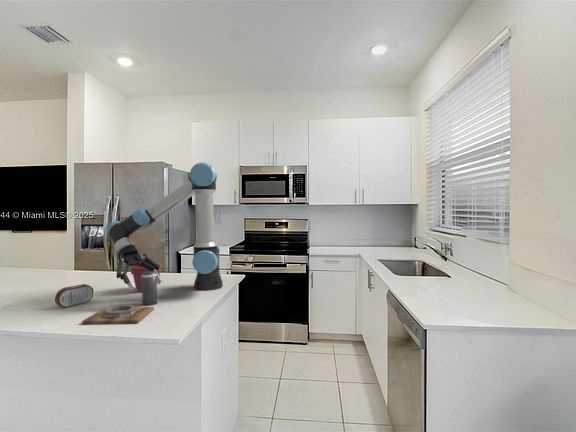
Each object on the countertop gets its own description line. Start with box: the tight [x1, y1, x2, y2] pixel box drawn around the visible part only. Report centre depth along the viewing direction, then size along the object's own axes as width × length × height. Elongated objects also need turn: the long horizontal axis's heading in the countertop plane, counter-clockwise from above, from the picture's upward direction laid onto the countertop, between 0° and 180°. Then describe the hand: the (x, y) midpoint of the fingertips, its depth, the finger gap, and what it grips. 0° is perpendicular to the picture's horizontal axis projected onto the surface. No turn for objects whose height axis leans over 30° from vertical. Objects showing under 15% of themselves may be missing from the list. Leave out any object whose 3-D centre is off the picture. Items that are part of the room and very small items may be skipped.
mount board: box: [81, 304, 155, 325], centre depth 126 cm, size 20×16×3 cm
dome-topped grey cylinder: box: [141, 271, 158, 307], centre depth 143 cm, size 6×6×14 cm
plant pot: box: [130, 263, 162, 293], centre depth 167 cm, size 14×14×13 cm
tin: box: [54, 283, 95, 308], centre depth 141 cm, size 15×3×8 cm, turn 151°
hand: (147, 285), depth 143 cm, fingers open, 13 cm apart
